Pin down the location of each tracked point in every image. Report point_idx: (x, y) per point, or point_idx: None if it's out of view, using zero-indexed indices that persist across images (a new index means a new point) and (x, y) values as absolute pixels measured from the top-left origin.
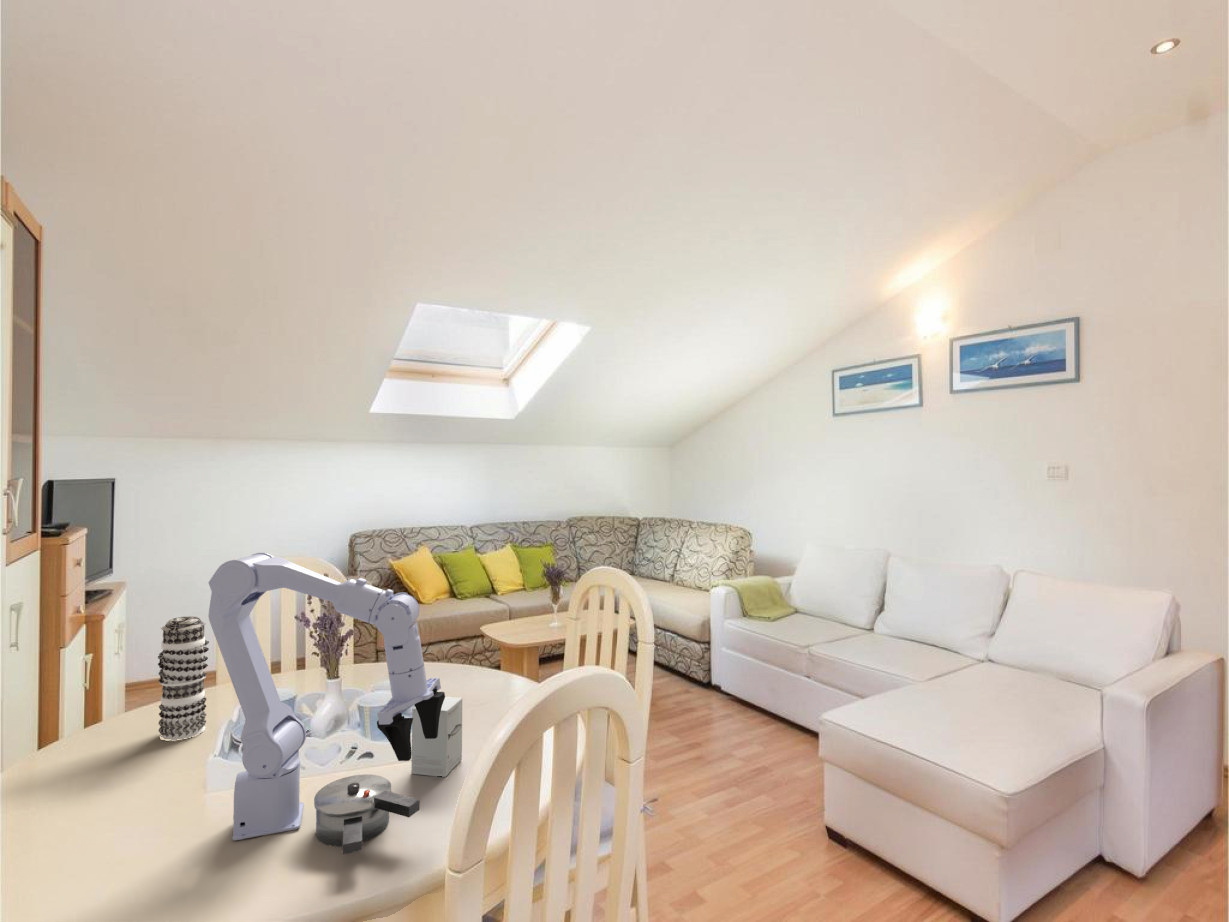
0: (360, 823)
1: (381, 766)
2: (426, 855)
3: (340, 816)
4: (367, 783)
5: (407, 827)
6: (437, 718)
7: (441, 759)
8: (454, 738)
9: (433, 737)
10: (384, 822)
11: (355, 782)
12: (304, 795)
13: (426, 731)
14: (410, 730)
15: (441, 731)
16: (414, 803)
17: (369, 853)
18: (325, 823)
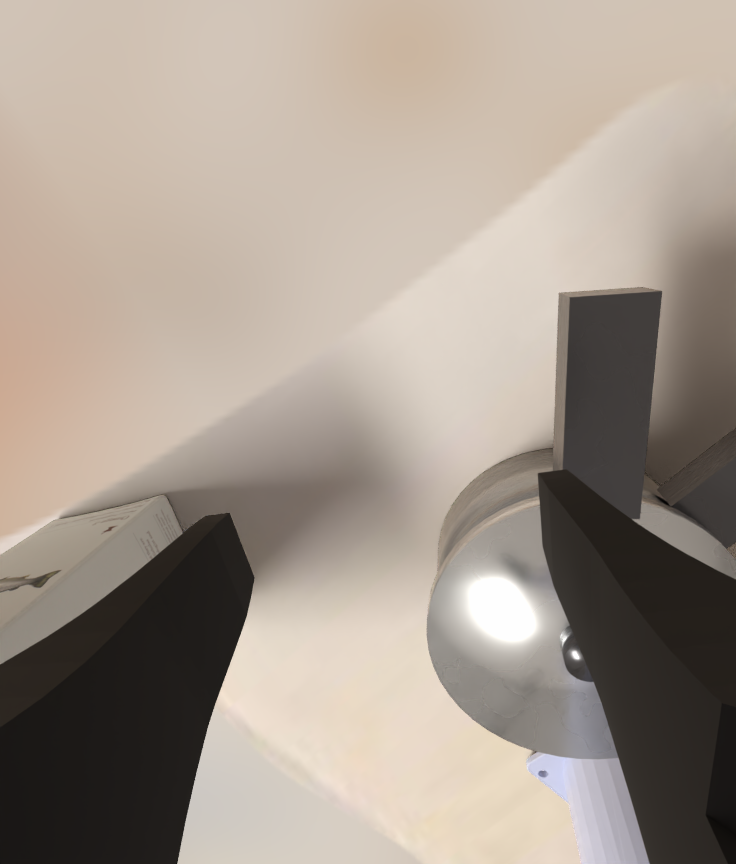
0: (725, 472)
1: (237, 711)
2: (609, 179)
3: None
4: (502, 636)
5: (481, 389)
6: (130, 598)
7: (136, 542)
8: (22, 568)
9: (230, 531)
10: (533, 462)
11: (515, 681)
12: (477, 787)
13: (234, 603)
14: (642, 605)
15: (52, 620)
16: (613, 294)
17: (676, 392)
18: None
